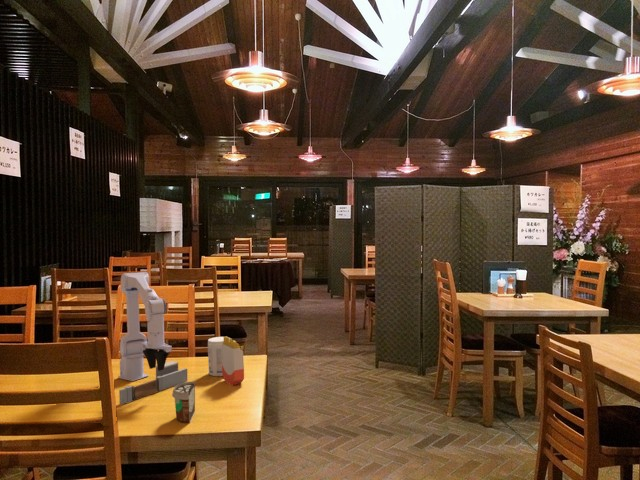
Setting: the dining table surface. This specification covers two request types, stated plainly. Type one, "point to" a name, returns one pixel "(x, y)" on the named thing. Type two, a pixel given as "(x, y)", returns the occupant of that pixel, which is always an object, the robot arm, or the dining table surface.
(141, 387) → the door
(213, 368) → the supplement tub
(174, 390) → the food container
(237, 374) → the french fries container
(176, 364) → the block
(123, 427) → the dining table surface
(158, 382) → the wall
